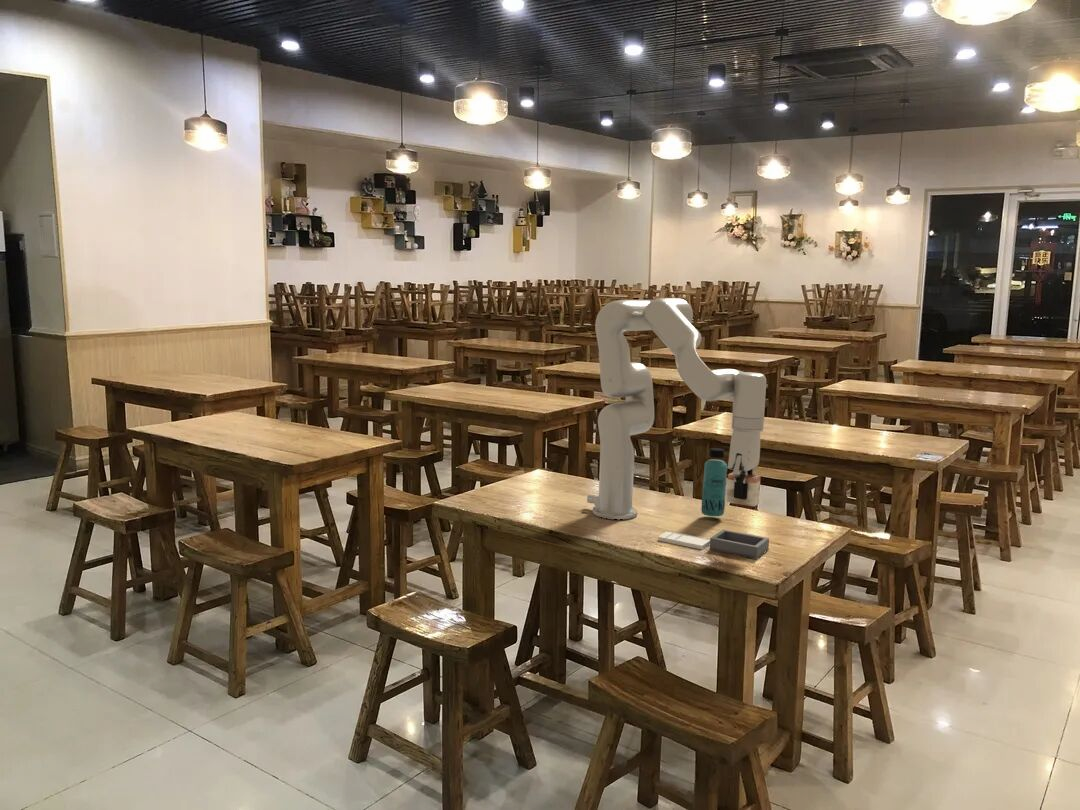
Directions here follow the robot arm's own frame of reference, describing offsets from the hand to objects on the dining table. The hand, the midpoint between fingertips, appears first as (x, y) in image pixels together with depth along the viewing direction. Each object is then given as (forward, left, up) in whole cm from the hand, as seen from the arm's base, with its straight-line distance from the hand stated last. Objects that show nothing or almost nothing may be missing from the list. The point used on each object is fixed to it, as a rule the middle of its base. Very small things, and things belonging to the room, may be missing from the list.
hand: (743, 496), depth 210 cm
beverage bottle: (-16, +22, -14) cm, 30 cm away
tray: (0, 0, -14) cm, 14 cm away
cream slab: (-14, -3, -14) cm, 20 cm away
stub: (0, 0, -2) cm, 2 cm away
